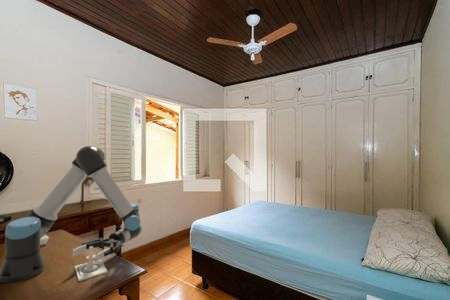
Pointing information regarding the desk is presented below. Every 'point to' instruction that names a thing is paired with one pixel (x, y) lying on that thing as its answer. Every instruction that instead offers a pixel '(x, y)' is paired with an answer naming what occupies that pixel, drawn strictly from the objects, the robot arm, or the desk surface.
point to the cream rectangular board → (89, 274)
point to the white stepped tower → (90, 260)
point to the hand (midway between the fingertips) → (85, 255)
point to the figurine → (44, 239)
